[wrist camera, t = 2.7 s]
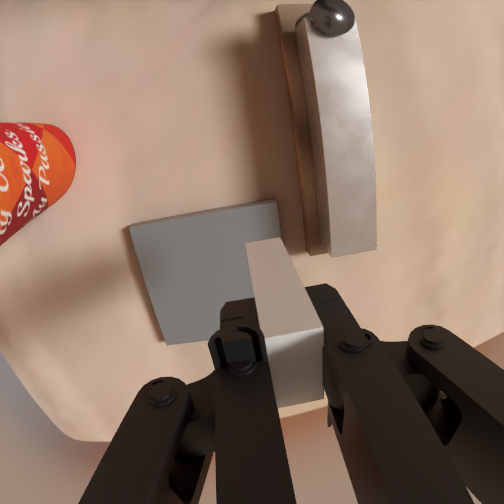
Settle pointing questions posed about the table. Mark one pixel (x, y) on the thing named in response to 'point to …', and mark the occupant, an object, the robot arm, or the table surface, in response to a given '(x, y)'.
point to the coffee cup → (31, 172)
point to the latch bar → (339, 127)
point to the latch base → (300, 119)
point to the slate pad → (200, 264)
